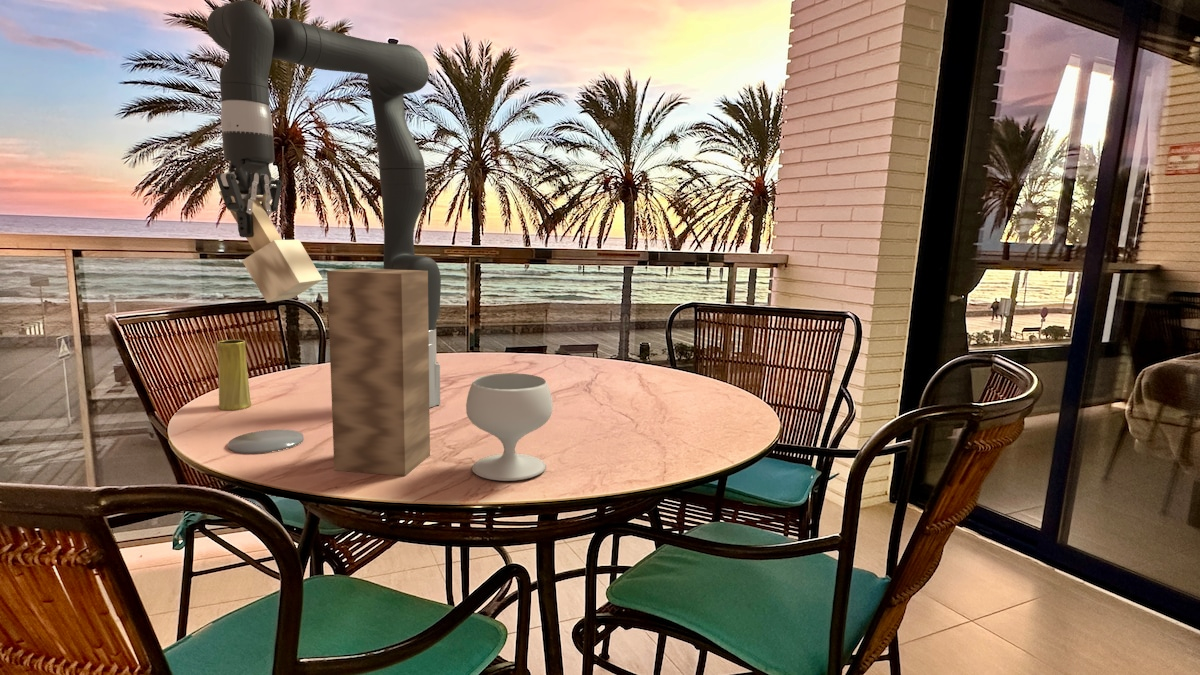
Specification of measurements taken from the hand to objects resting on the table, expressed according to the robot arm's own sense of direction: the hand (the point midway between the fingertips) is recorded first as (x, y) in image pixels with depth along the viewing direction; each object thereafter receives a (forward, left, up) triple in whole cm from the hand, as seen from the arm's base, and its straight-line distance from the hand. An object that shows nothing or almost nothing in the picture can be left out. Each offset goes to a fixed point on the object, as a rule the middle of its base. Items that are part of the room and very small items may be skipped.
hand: (254, 236), depth 109 cm
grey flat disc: (0, 0, -37) cm, 37 cm away
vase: (+1, -29, -37) cm, 47 cm away
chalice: (-30, +35, -37) cm, 59 cm away
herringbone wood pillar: (-14, +21, -37) cm, 45 cm away
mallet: (+1, -1, -2) cm, 3 cm away
